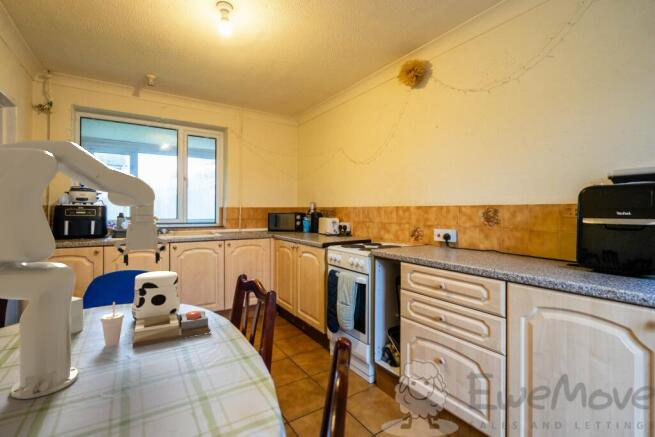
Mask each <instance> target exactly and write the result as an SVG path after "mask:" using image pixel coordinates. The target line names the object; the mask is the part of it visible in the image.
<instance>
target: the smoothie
mask: <svg viewBox="0 0 655 437" xmlns="http://www.w3.org/2000/svg"><path fill="white" fill-rule="evenodd" d="M124 318H125V314H124V312H116V302H115V301H113V302H112V312H111V313H106V314H103V315H101V316H100V322H101V325H102V331H103V332H102V333H103V339H104V345H105V347H107V348H111V347H114V346H117V345H119V344H120V339H121V333H122V327H123V320H124Z"/></svg>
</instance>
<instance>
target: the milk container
mask: <svg viewBox="0 0 655 437" xmlns="http://www.w3.org/2000/svg"><path fill="white" fill-rule="evenodd" d="M178 282H179V277H178V273H177V272H174V271H167V270H165V271H164V270H163V271H159V270H158V271H151V272H150V271H148V272H144V273H141V274H138V275H136V276H135V278H134V289H133V290H134V298H133V303H132V305H131V314H132V318H133V320H135V321H136V320H137V319H138V318H145V317H152V316H159V315H166V314H173V313H176V314H178V313H179V311H180V307H181V306H180V305H181V302H180V298H179V293H178V292H179V291H178V290H179V289H178V288H179V283H178Z"/></svg>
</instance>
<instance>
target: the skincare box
mask: <svg viewBox="0 0 655 437" xmlns="http://www.w3.org/2000/svg"><path fill="white" fill-rule="evenodd" d="M83 330H84V298H82V297H77V296H72V301H71V335H72V334H75V333H78V332H81V331H83Z"/></svg>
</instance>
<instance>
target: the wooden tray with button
mask: <svg viewBox="0 0 655 437" xmlns="http://www.w3.org/2000/svg"><path fill="white" fill-rule="evenodd" d="M200 312H201V318H197V319H191V320H187V318H186V314H187V313H188V312H186V313H180V314H179V318H178V316H177V314H178V313H177V314H176V313H173V314H166V315H159V316H152V317H145V318H138V319H137V320H135V328H134V333H133V338H132V348H133V349H134V348H140V347H144V346H150V345H154V344H161V343H167V342H172V341H177V340H176V339H178V340H181V339H180V338H183V339H186V338H185V337H189V338H191V337H190V336H194V337H196V336H195V335H200V334H205V333H209V332H210V333H211V328H210V325H209V318H208V317H209V316H206V311H205V310H200ZM178 319H179V320H178ZM205 335H206V334H205ZM200 336H201V335H200Z"/></svg>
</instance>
